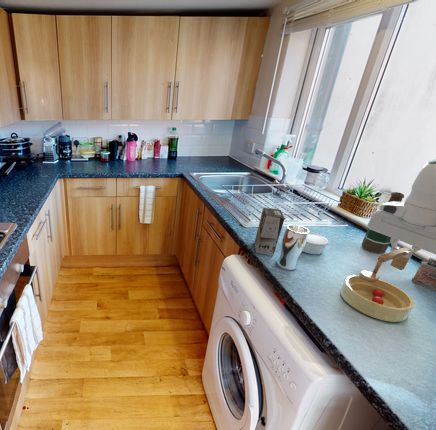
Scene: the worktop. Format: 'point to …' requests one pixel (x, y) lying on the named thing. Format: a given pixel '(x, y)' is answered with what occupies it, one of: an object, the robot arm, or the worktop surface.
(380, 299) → the tomato
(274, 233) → the coffee box
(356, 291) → the bowl
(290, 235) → the beer glass
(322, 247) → the ramekin
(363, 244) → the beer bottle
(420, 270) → the red printed box
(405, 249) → the brass bent handle
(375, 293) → the tomato
